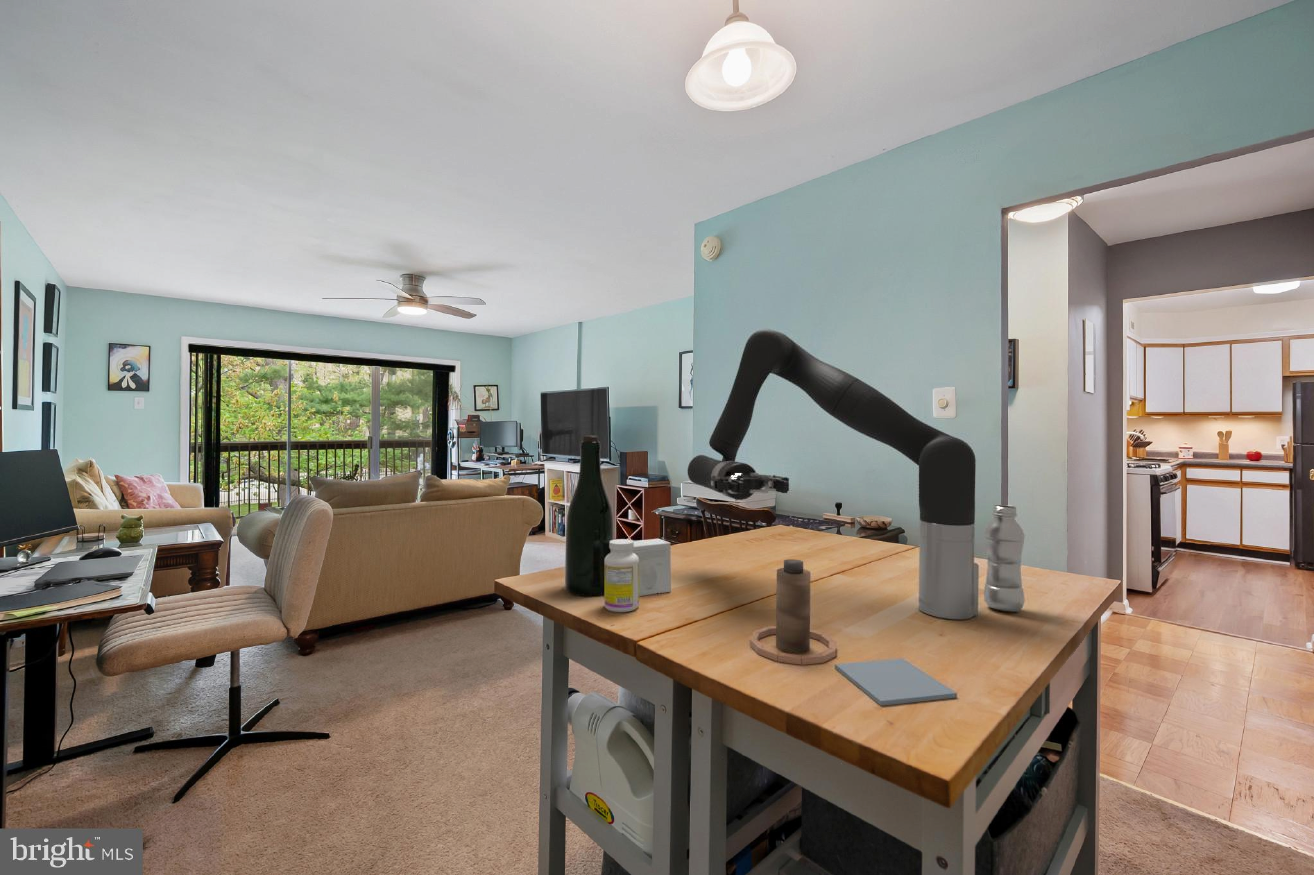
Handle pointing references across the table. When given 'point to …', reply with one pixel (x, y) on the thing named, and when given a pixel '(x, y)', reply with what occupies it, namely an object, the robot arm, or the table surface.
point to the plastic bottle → (1004, 560)
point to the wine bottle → (588, 525)
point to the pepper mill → (793, 607)
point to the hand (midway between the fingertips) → (764, 487)
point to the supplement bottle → (621, 577)
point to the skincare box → (653, 566)
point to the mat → (894, 681)
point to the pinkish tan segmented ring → (793, 658)
